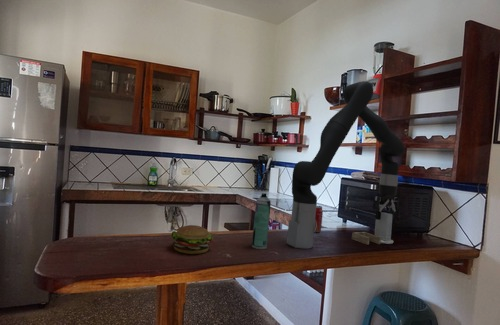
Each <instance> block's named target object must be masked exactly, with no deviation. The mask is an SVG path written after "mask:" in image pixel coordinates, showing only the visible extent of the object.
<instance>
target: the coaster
mask: <svg viewBox="0 0 500 325" xmlns="http://www.w3.org/2000/svg"><path fill="white" fill-rule="evenodd" d="M393 243H394V240H393V239H391V240H390V241H384V240H381V242H380V244H387V245H392V244H393Z"/></svg>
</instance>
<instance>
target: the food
mask: <svg viewBox="0 0 500 325" xmlns="http://www.w3.org/2000/svg"><path fill="white" fill-rule="evenodd" d="M170 236H171V238H172V239H173V240H172V246H173V249H174V250H175V251H176V252H179V253H180V254H181V253H182V254H189V255H198V254H204V253H206V252H208V251H209V249H210V248H209V246H210V244H213V242H214V234H213V233H209V231H208V229H206V228H205V227H204V226H201V225H191V224H190V225H183V226H181V227H179V228H178V229H177V230H173V231H172V232H171V235H170Z"/></svg>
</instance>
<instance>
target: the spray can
mask: <svg viewBox="0 0 500 325" xmlns="http://www.w3.org/2000/svg"><path fill="white" fill-rule="evenodd" d="M271 204H272V200H270V199H269V198H268V196H267V193H266V192H265V193H264V192H263V193H262V192H261V195H260V196H259V198H256V201H255V209H254V210H255V211H254V221H253V229H252V230H253V231H252V233H253V234H252V243H251V247H252V248H254V249H256V250H265V249H267V248H268V236H269V224H270V214H271Z"/></svg>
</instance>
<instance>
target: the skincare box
mask: <svg viewBox="0 0 500 325" xmlns="http://www.w3.org/2000/svg"><path fill="white" fill-rule="evenodd" d="M374 222H375V224H374V235H376V236H379V237H381V240H384V241H390V240H392V228H393V227H392V226H393V220H392V214H389V212H384V211H383V212H382V211H381V219H380V220H377V219H376V218H375V221H374Z"/></svg>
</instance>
